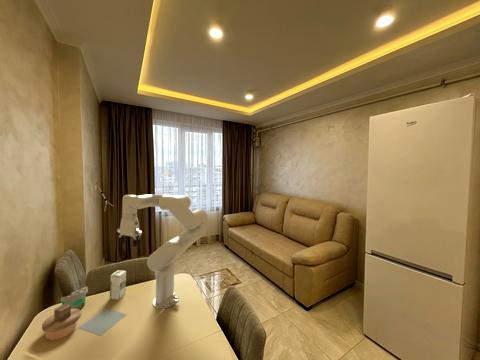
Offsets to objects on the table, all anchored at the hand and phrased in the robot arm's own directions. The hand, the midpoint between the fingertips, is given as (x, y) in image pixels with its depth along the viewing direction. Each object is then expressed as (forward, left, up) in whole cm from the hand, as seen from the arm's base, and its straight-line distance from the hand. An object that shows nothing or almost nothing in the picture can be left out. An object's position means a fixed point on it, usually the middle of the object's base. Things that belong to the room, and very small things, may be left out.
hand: (128, 244), depth 115 cm
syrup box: (+4, +3, -31) cm, 31 cm away
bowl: (+6, +30, -30) cm, 43 cm away
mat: (-6, +20, -30) cm, 37 cm away
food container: (+14, +18, -31) cm, 38 cm away
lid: (+6, +30, -25) cm, 40 cm away
